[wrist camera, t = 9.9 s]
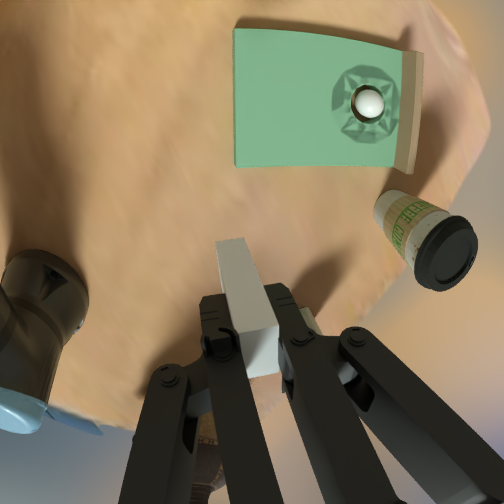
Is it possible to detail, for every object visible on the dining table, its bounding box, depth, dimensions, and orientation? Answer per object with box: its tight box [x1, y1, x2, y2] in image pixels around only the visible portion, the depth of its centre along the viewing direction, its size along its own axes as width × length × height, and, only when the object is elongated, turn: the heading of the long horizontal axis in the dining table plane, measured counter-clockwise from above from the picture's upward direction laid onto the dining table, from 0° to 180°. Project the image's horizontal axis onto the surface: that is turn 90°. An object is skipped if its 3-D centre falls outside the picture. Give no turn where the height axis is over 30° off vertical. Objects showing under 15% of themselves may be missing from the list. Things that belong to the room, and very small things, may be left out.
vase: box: [132, 411, 226, 504], centre depth 45 cm, size 23×19×30 cm
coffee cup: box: [374, 190, 478, 292], centre depth 36 cm, size 10×10×15 cm
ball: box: [355, 90, 384, 118], centre depth 32 cm, size 4×4×4 cm
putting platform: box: [233, 28, 424, 174], centre depth 31 cm, size 22×16×5 cm
